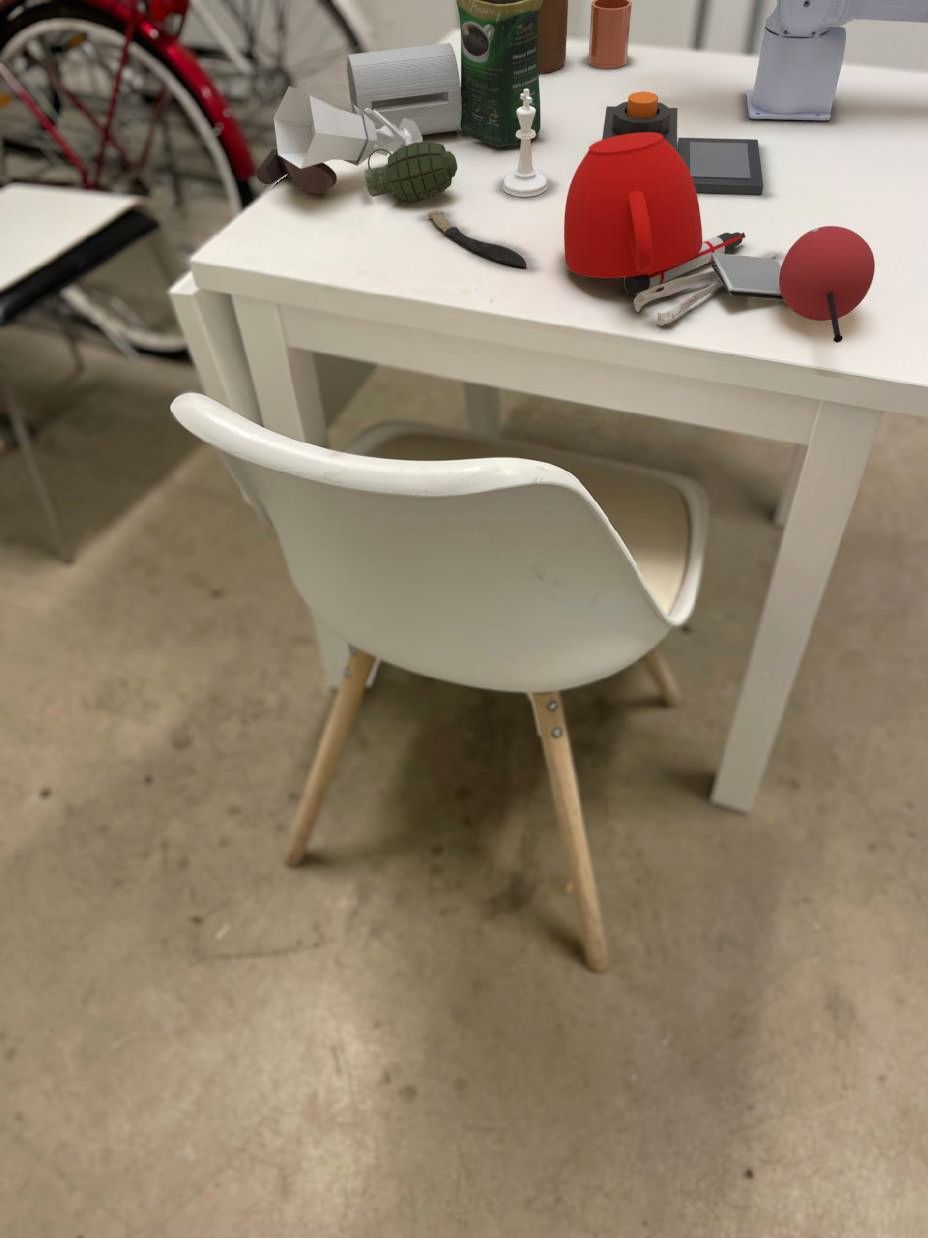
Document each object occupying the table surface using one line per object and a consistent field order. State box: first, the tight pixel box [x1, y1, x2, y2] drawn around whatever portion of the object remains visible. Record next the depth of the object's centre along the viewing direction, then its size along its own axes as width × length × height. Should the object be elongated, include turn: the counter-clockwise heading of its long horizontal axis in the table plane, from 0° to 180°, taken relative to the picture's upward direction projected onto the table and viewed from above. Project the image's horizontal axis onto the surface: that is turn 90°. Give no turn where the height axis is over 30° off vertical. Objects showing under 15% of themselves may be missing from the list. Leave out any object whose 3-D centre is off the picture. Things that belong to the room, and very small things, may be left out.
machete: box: [427, 210, 527, 269], centre depth 97 cm, size 15×3×1 cm, turn 40°
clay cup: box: [587, 0, 633, 70], centre depth 127 cm, size 5×5×7 cm
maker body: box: [601, 101, 678, 151], centre depth 105 cm, size 8×12×6 cm, turn 171°
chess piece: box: [502, 89, 548, 198], centre depth 101 cm, size 5×5×10 cm
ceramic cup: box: [563, 132, 703, 279], centre depth 87 cm, size 13×17×10 cm
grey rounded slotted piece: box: [346, 42, 462, 136], centre depth 112 cm, size 9×9×12 cm
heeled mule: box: [255, 148, 338, 195], centre depth 106 cm, size 4×11×4 cm
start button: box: [627, 91, 659, 118], centre depth 102 cm, size 3×3×2 cm
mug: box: [538, 0, 569, 74], centre depth 125 cm, size 12×8×9 cm, turn 125°
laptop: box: [710, 253, 784, 301], centre depth 87 cm, size 7×6×2 cm
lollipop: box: [779, 225, 876, 344], centre depth 80 cm, size 8×8×15 cm
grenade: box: [364, 141, 458, 202], centre depth 103 cm, size 6×7×10 cm
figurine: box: [273, 86, 424, 169], centre depth 104 cm, size 7×8×18 cm
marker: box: [623, 231, 747, 296], centre depth 91 cm, size 15×2×2 cm
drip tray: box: [677, 137, 764, 195], centre depth 106 cm, size 9×12×1 cm
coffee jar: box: [455, 0, 543, 147], centre depth 108 cm, size 10×8×19 cm
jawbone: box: [633, 252, 778, 327], centre depth 89 cm, size 17×5×2 cm, turn 127°
